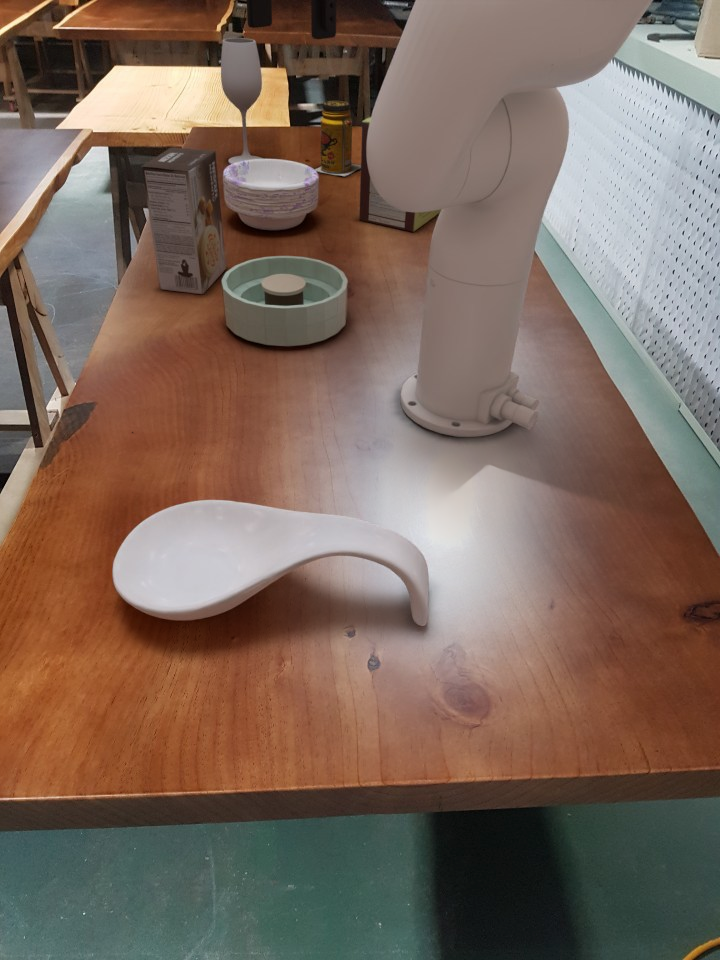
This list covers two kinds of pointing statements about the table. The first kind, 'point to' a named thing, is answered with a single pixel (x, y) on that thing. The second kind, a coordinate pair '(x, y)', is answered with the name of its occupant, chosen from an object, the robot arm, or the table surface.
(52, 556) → the table surface
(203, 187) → the coffee box
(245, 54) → the wineglass
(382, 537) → the spoon rest
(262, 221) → the paper bowls
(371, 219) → the protein box
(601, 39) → the robot arm
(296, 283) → the coffee pod
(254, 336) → the bowl
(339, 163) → the condiment
